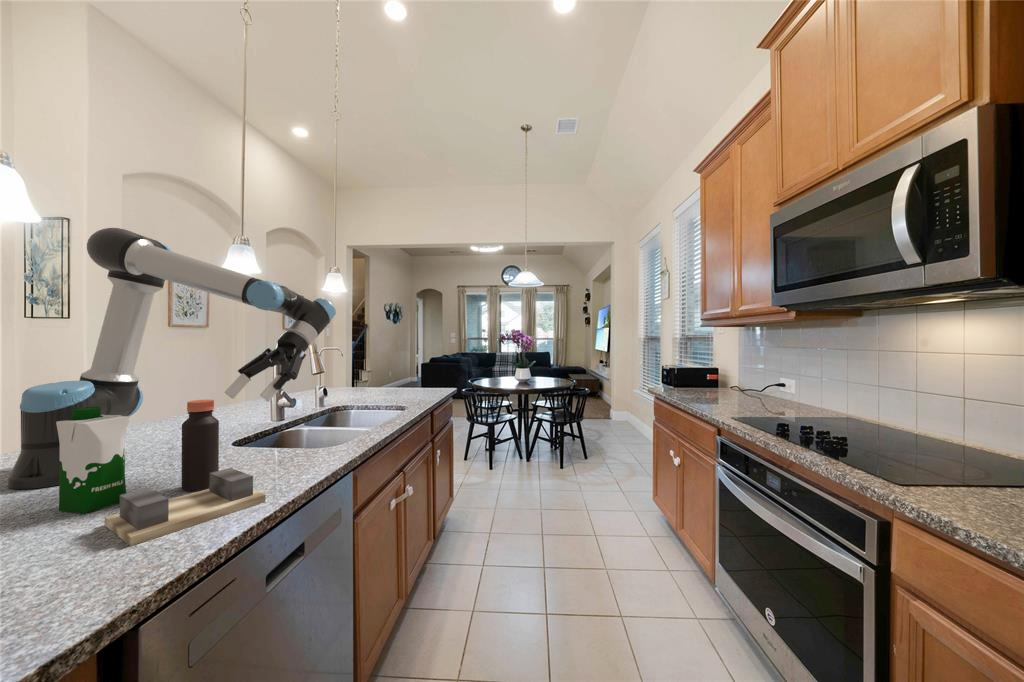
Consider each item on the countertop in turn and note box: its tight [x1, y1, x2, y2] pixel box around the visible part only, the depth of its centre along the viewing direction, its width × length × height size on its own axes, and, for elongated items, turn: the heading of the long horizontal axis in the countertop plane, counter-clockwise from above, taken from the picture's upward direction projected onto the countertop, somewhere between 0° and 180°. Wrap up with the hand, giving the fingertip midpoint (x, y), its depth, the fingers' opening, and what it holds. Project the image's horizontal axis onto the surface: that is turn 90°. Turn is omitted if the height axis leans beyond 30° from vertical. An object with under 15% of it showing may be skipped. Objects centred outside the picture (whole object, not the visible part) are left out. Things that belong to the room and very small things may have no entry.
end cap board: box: [104, 467, 267, 547], centre depth 77 cm, size 14×21×6 cm, turn 149°
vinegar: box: [181, 399, 220, 492], centre depth 90 cm, size 7×7×20 cm
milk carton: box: [56, 407, 131, 515], centre depth 80 cm, size 9×9×20 cm
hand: (246, 397), depth 100 cm, fingers open, 13 cm apart
